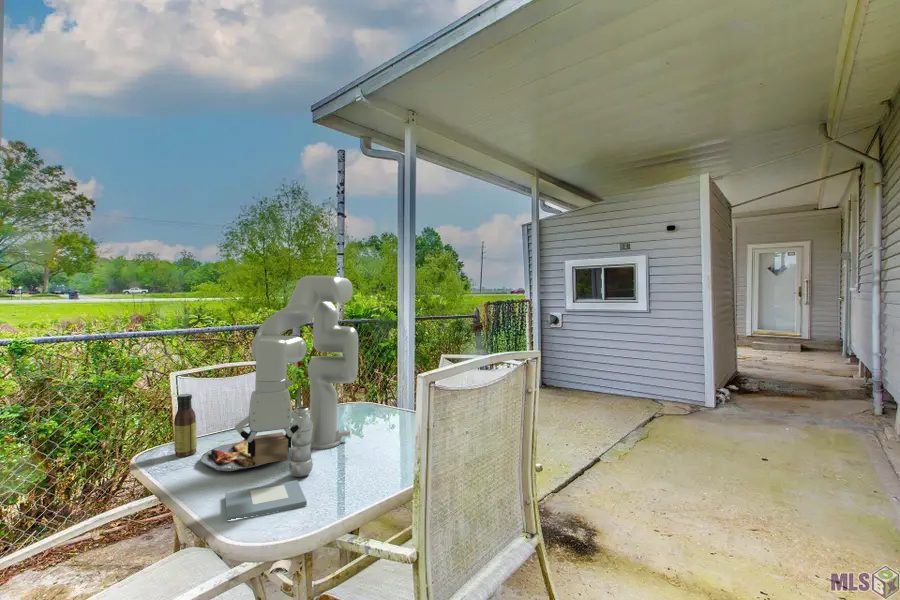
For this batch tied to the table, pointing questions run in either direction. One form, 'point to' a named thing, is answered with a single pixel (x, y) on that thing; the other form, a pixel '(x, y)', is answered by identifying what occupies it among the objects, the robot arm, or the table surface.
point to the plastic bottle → (301, 445)
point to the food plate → (229, 457)
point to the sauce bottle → (185, 427)
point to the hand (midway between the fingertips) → (269, 453)
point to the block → (270, 448)
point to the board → (264, 500)
